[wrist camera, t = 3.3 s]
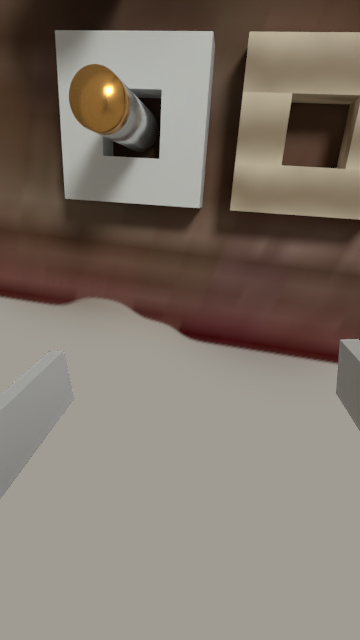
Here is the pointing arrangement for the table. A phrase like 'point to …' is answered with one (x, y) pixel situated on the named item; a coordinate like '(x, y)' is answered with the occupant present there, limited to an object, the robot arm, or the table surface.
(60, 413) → the robot arm
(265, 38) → the block
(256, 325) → the table surface
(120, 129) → the pin
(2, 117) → the table surface
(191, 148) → the mount block
